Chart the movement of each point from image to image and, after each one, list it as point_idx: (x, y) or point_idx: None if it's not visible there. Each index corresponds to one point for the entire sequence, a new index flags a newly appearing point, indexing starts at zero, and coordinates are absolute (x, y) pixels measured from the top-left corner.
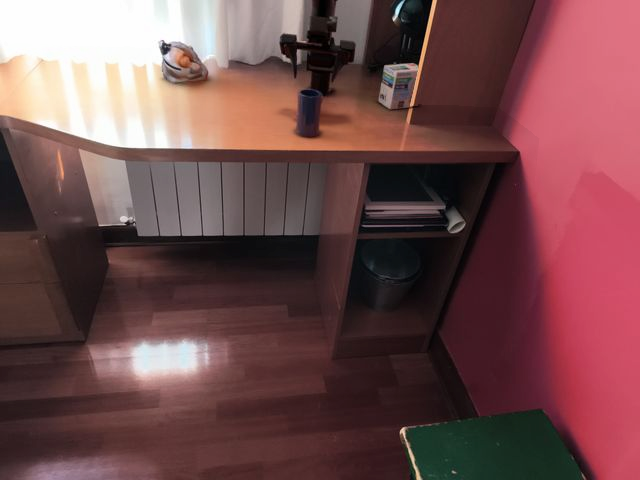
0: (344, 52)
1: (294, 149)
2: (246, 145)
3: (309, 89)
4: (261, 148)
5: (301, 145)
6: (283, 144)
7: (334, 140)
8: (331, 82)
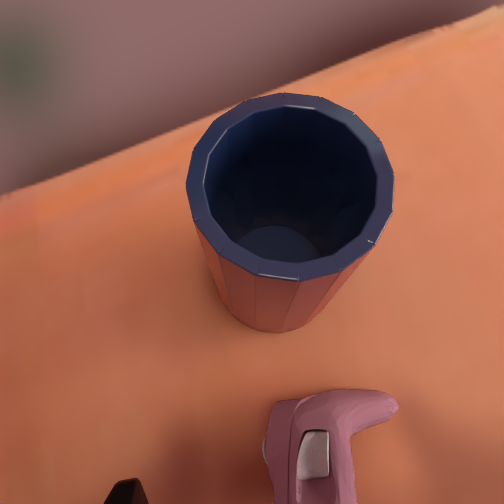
0: None
1: None
2: (454, 56)
3: (326, 257)
4: (390, 57)
5: None
6: None
7: (126, 247)
8: (142, 496)
